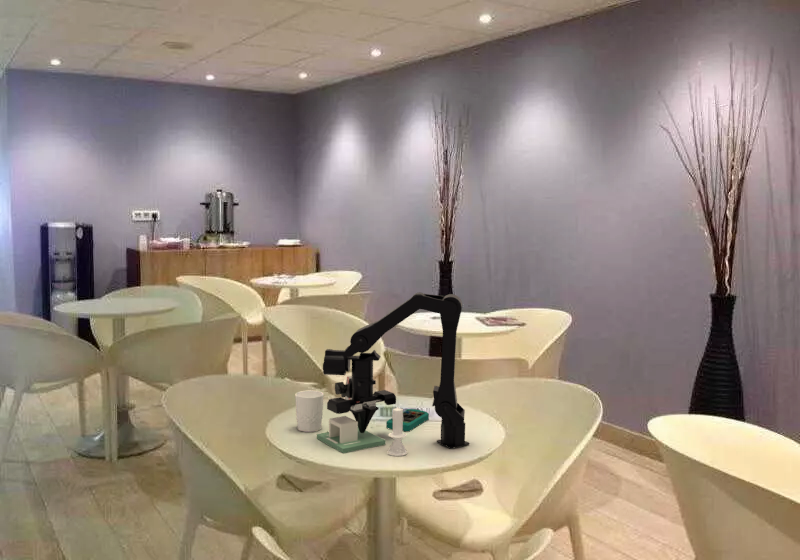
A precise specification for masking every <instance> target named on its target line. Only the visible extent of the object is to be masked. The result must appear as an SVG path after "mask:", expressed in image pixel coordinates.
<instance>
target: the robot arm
mask: <svg viewBox="0 0 800 560" xmlns="http://www.w3.org/2000/svg"><path fill="white" fill-rule="evenodd" d="M418 310H419V311H420V310H423V311H428V312H431V313H435V314H439V315H440V323H441V327H442V340H441V341H442V342H441V359H440V361H441V364H440V382H439V386H438V385H434V386H433V391H432V395H433V399H432V400H433V401H432V405H431V407H434V411H435V413H436V414H437V416H438V417H440V418H441V424H440V439H437V440H436V441H435V442H436V443H437V444H439V445H442V446H444V447H446V448H448V449H451V450H453V449H457V448H460V447H464V446H465V447H466V446H469V445H470V442H468V441H467V440H466V422H465V413H466V412H465V409H464V408H463V407H462V405H460V403H459V402H458V398H457V397H458V396H457V390H456V382H455V368H456V350H457V349H456V348H457V330H458V327H459V322H460V318H461V313H462V310H463V302H462V298H460V297H459V296H458V295H456V294H452V293H449V294H447V295H440V294H439V295H438V294H429V293H423V292H420V291H419V292H415V293H414V294H413V295H412V296H411V297H410V298H409V299H407V300H406V301H404V302H403V303H402V304H400V305H398V306H397V307H396V308H394V309H393V310H392V311H390V312H388V313H387V314H386V315H383V317H381V318H380V319H378V320H376V321H374V322H372V323H369V324H367V325H365V326H362V327H360V328H358V329H357V330H356V331H355V332H354V333H353V334H352V335H351V337H350V341H349V342H350V345H348V346H347V347H346V348H345V350H344V349H343V350H342V349H340V350H339V349H331V348H329V349H328V348H327V349H326V350H324V357H323V363H322V372H323V375H324V376H346V374H347V373H349V372H350V370H351V376H352V378H350V379H349V383H348V384H346V383H344V382H343V381H338V382H335V383H334V393H335V394H336V395H338V396H339V395H341V396H339V397H334V398H333V397H332V398H329V399H328V401H327V403H326V410H328V411H330V412H332V413H335V414H338V415H341V414H347V413H349V412H351V414H352V416H353V417H354V420H355V421H357V422H358V428H359V431H360V433H364V432H365V430H366V431H367V428H368V426H369V424H370V422H371V420H372V418H373V417H374V415H375V414H376V411H379V409H380V407H378V406H377V403H381V402H384V404H385V405H387V406H393V405H396V404H397V396H396V394H395V393H394V392H391V391H390V390H386V389H382V390H377V391H376V390H375V391H374V385H376V384H377V383H376V382H377V381H376V380H375V379H374V362H375V361H376V362H378V361H379V360H380V359H381V358H382V357H381V355H380V354H379V353H378V352H377V351H376V350H375V349H374V350H373V351H372V352H368V351H369V350H371V348H372V347H373V346H374V345H375V344H376V343H377V342H378V341H379V340H380V339H381V338H382V337H383V336H384V335H385V334H386V333H387V332H389V331H390V330H391V329H393V328H394V327H396V326H397V325H399V324H400V323H402V322H403V321H405V320H406V319H407V318H409V317H411V316H412V315H413V314H415V313H416V312H418ZM358 353H359V355H356V354H358ZM346 396H347V397H348V398H352V399H351V400H346V399H345V397H346Z"/></svg>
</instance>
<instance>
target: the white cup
mask: <svg viewBox="0 0 800 560" xmlns="http://www.w3.org/2000/svg"><path fill="white" fill-rule="evenodd" d="M294 395H295V412H296V413H295V415H296V423H297V426H296V427H297V430H298V431H300V432H305V433H314V432H319V431H320V430H322V424H323V423H322V421H323V412H324V411H323V410H324V397H325V395H324V392H322V391H319V390H312V389H311V390H310V389H309V390H301V391H297V392H296V393H295V394H294Z"/></svg>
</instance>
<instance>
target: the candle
mask: <svg viewBox="0 0 800 560" xmlns="http://www.w3.org/2000/svg"><path fill="white" fill-rule="evenodd" d="M403 412H404V409H403V408H400V407H395V408H393V409H392V416H391V418H392V419H393V429H392V431H391V432H389V433H388V437H390V438H392V439H393V441H392V444H391V445H390V446H389V449H388V450H387V451H386V453H387V455H388V456H393V457H402V456H406V455H407V454H408V452H409V451H407V450H406V447H405V445H404V444H403V441H402V439H403V438H405V437H407V436H408V434H407V433H406V432H404V431H403Z"/></svg>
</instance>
